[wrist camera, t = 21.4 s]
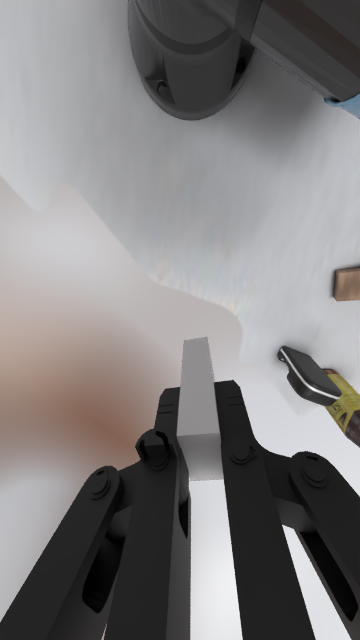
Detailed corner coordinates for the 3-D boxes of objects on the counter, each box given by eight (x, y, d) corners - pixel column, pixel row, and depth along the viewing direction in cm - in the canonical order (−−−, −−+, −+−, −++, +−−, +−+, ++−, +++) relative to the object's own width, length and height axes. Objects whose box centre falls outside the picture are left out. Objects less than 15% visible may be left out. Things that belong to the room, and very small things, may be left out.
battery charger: (271, 358, 44) (296, 400, 33) (281, 344, 42) (310, 383, 32) (300, 369, 44) (332, 413, 34) (311, 356, 43) (348, 397, 33)
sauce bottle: (306, 372, 45) (383, 471, 27) (337, 364, 43) (440, 463, 25) (310, 393, 47) (383, 498, 29) (339, 387, 46) (435, 492, 28)
